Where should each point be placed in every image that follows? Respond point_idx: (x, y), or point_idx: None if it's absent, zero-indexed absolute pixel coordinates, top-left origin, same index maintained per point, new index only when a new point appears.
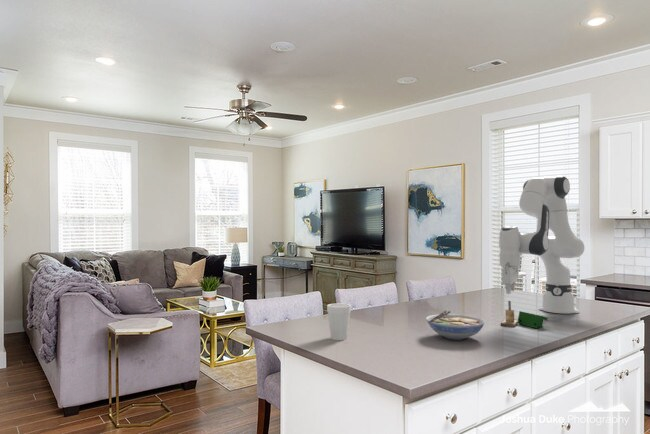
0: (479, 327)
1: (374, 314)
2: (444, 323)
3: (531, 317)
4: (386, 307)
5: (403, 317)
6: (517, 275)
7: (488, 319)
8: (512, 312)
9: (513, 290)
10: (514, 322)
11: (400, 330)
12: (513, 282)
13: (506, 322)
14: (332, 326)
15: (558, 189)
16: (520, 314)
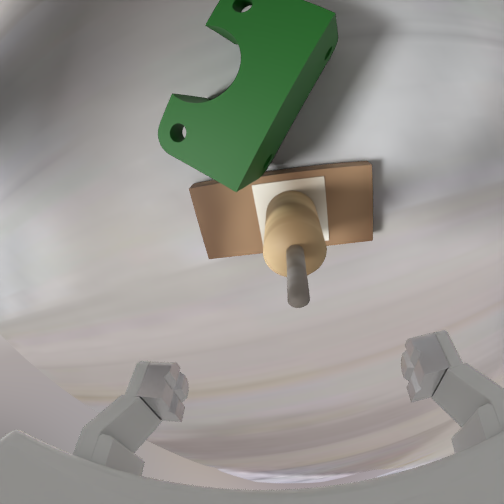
0: None
1: (362, 458)
2: None
3: (305, 77)
4: (272, 468)
5: (370, 436)
6: (8, 478)
7: (246, 316)
8: (311, 221)
9: (175, 366)
10: (319, 180)
11: (501, 379)
12: (120, 450)
13: (340, 219)
14: None
15: None
16: (252, 173)
